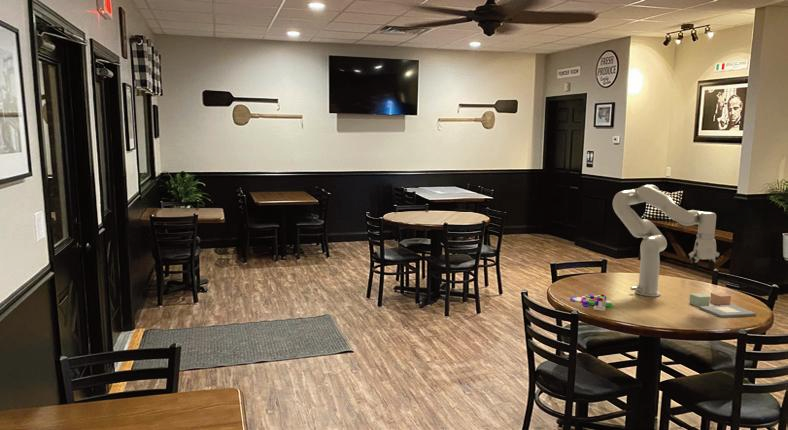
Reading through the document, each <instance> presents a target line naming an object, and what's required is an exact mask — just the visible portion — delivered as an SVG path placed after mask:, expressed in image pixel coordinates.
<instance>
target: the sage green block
mask: <svg viewBox="0 0 788 430" xmlns="http://www.w3.org/2000/svg"><path fill="white" fill-rule="evenodd" d="M710 297H711V296H709V295H707V294H704V293H701V292H700V293H689V304H691V305H693V306H696V307H701V306H710V303H711V302H710Z"/></svg>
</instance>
